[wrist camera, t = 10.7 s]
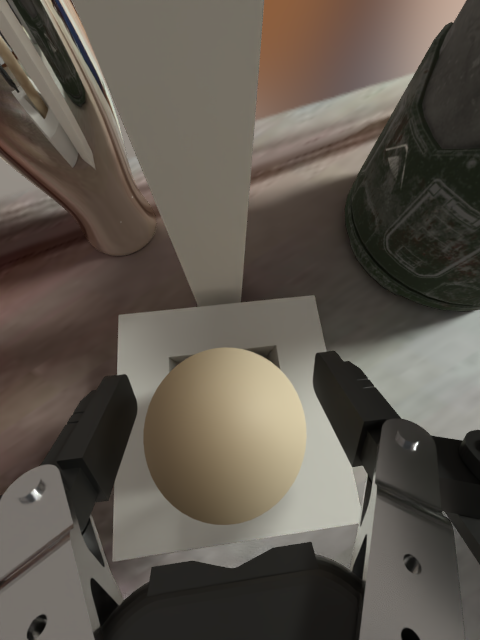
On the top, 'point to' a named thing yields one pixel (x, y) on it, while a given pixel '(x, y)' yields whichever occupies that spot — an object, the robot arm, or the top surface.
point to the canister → (427, 180)
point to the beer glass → (67, 124)
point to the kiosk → (205, 254)
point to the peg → (224, 436)
